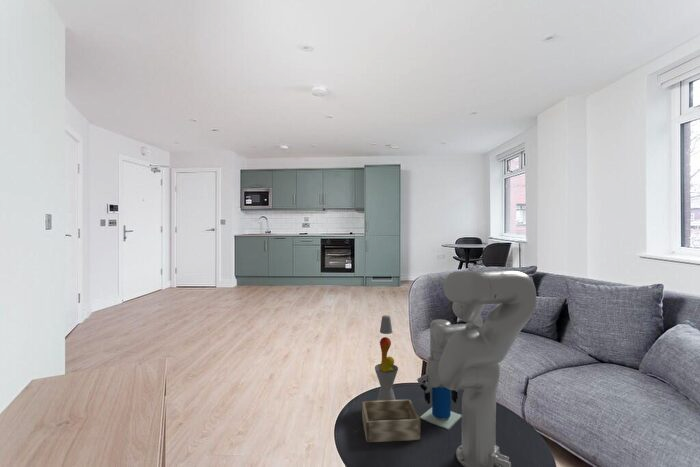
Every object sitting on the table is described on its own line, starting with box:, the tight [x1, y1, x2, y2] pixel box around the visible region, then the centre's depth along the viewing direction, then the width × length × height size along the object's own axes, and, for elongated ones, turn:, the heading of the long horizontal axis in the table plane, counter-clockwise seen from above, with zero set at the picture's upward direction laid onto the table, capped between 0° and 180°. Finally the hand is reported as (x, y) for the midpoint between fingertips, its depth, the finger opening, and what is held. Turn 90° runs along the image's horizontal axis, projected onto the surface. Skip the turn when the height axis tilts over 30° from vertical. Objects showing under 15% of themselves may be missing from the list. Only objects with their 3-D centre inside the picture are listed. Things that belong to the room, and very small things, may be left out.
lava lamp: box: [374, 314, 399, 401], centre depth 134 cm, size 9×9×35 cm
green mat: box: [419, 407, 462, 431], centre depth 126 cm, size 11×11×1 cm
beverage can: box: [431, 386, 452, 420], centre depth 126 cm, size 6×6×12 cm
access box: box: [361, 398, 421, 443], centre depth 119 cm, size 18×14×6 cm
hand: (440, 401), depth 126 cm, fingers open, 9 cm apart
